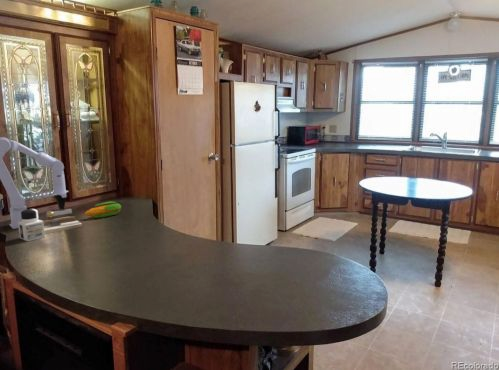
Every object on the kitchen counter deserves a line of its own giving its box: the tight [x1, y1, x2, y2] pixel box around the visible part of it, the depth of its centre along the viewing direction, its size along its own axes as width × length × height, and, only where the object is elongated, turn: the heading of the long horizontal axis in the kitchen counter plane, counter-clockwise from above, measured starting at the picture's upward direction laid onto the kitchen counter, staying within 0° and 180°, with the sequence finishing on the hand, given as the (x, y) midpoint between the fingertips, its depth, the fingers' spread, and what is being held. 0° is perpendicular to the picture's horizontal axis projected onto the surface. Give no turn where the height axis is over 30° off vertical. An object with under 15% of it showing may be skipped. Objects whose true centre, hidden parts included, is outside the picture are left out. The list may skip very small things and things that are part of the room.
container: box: [18, 208, 46, 242], centre depth 173 cm, size 8×8×13 cm
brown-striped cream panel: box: [42, 215, 83, 235], centre depth 191 cm, size 19×17×4 cm
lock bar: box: [46, 208, 73, 218], centre depth 195 cm, size 12×3×2 cm, turn 131°
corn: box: [84, 201, 122, 219], centre depth 208 cm, size 7×8×20 cm
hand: (61, 208), depth 202 cm, fingers closed
